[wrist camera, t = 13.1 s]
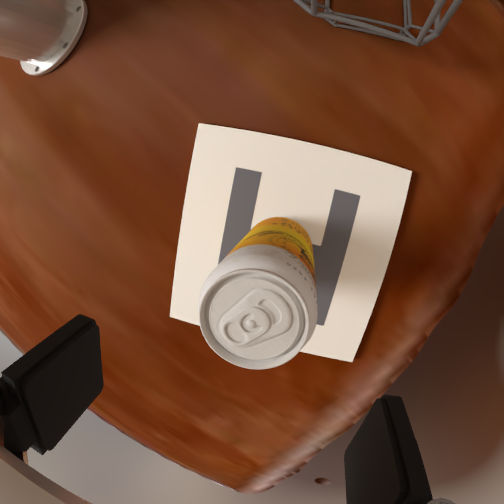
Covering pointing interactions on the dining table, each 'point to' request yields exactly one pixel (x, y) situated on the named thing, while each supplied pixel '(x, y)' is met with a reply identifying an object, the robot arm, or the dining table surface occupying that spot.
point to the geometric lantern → (375, 30)
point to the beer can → (262, 297)
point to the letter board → (301, 211)
